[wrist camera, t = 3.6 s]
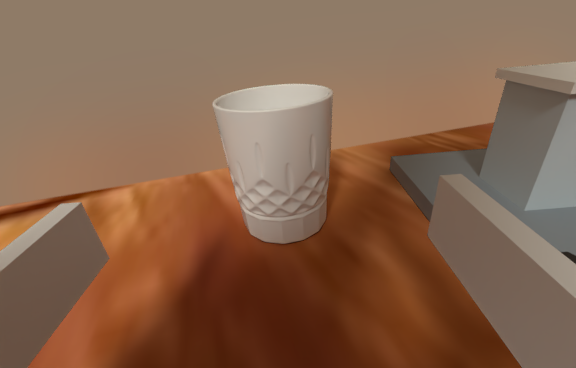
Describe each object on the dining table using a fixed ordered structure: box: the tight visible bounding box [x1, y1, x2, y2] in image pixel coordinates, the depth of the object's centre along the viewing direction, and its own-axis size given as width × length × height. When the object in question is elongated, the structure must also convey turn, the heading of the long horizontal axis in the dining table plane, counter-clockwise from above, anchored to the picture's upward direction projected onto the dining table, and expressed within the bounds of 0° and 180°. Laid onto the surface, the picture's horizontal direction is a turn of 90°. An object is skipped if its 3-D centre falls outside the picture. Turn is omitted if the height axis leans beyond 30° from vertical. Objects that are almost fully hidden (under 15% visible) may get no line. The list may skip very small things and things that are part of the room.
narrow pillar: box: [390, 62, 576, 256], centre depth 20 cm, size 16×16×10 cm
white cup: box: [212, 84, 333, 244], centre depth 21 cm, size 8×8×10 cm
